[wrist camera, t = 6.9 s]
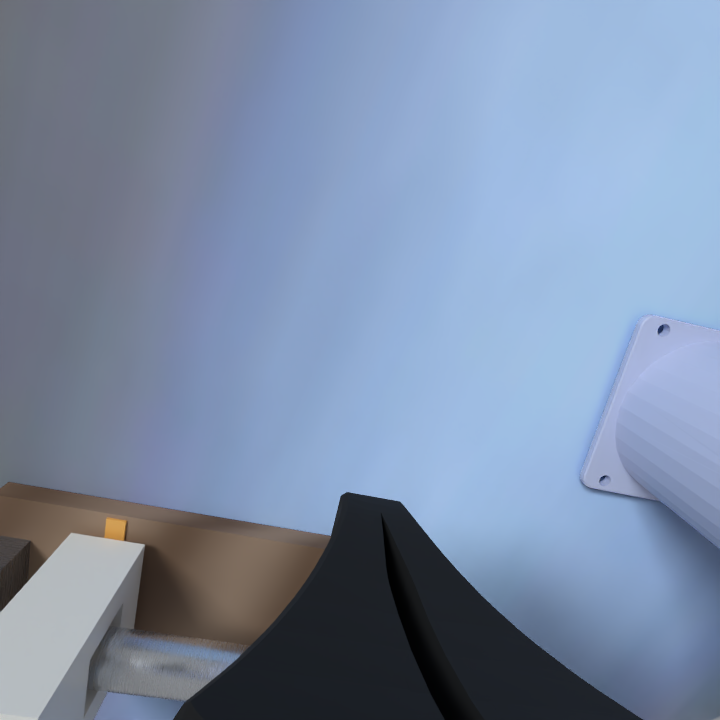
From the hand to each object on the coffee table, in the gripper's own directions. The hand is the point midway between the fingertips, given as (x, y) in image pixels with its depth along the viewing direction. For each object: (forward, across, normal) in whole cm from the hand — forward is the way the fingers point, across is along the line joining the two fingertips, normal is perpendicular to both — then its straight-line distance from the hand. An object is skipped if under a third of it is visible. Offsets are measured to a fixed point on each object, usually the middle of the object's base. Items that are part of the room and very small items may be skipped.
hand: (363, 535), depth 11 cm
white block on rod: (+8, +9, +10) cm, 16 cm away
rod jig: (+10, +6, +10) cm, 16 cm away
